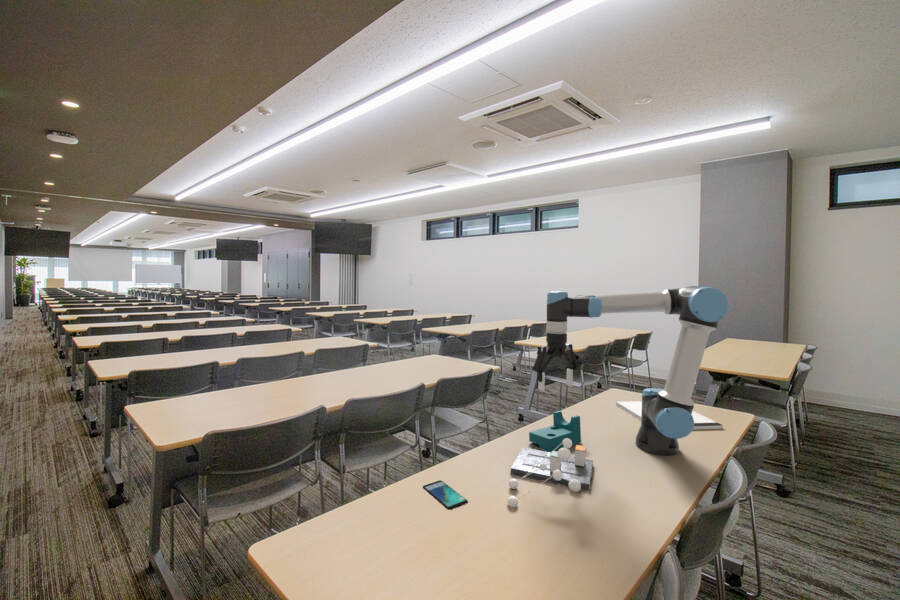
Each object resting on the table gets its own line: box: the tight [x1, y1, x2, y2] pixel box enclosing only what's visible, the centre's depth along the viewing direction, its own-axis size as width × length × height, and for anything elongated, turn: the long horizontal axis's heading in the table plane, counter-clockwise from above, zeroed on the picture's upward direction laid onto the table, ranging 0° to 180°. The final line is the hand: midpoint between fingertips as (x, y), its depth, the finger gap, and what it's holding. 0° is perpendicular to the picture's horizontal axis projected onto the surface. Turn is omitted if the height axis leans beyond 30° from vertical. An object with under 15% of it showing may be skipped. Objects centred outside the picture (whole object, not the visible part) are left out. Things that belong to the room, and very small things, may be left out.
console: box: [510, 446, 594, 491], centre depth 136 cm, size 25×18×2 cm
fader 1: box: [550, 450, 561, 472], centre depth 131 cm, size 3×4×5 cm
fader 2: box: [574, 444, 587, 466], centre depth 136 cm, size 3×4×5 cm
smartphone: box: [422, 480, 469, 510], centre depth 119 cm, size 7×1×15 cm
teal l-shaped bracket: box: [528, 410, 582, 452], centre depth 158 cm, size 18×11×10 cm, turn 124°
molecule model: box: [507, 438, 582, 508], centre depth 119 cm, size 14×25×18 cm, turn 98°
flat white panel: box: [615, 400, 724, 431], centre depth 192 cm, size 35×2×31 cm
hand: (555, 388), depth 150 cm, fingers open, 13 cm apart
